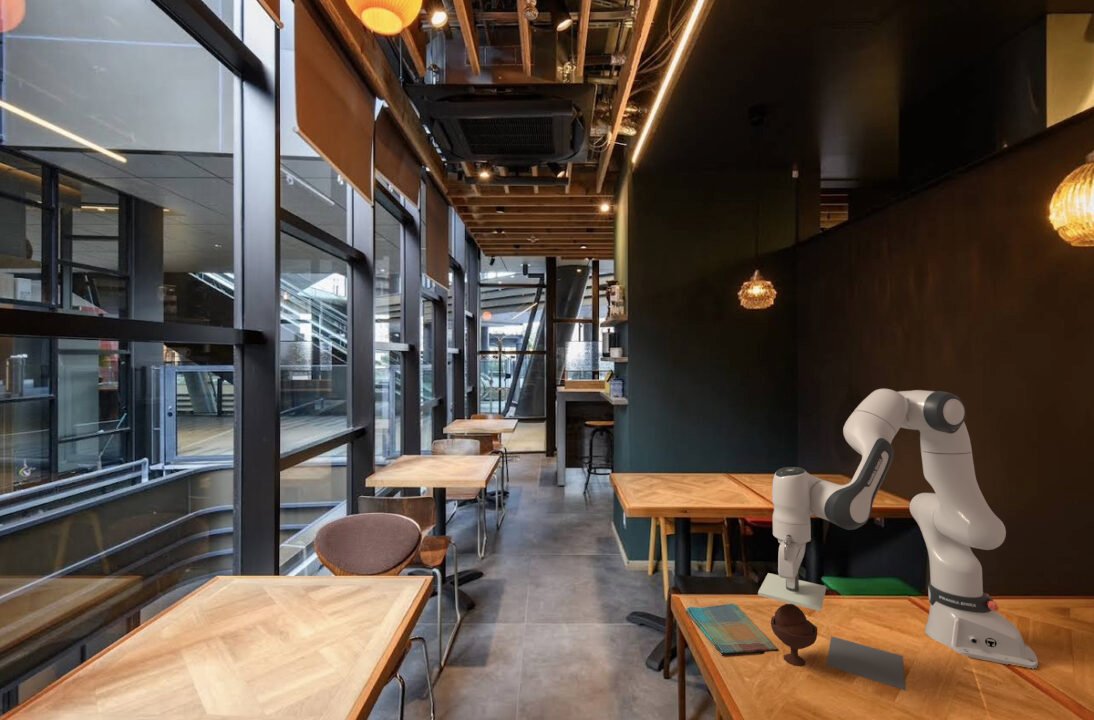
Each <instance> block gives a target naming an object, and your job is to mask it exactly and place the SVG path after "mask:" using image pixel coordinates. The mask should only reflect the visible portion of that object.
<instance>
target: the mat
mask: <svg viewBox="0 0 1094 720" xmlns="http://www.w3.org/2000/svg"><path fill="white" fill-rule="evenodd" d="M828 649H829V650H828V655H827V661H826V667H830V668H833V669H835V670H839V671H841V672H845V673H848V674H851V675H854V676H855V675H856V676H857V677H858V676H859V677H861V678H864V679H866V680H871V681H874V682H878V683H880V684H884V685H888V686H891V687H894V688H897V689H900V690H903V691H906V690H907V687H906V679H905V678H906V677H905V667H904V657H903V655H901V654H897V653H894V652H891V651H886V650H883V649H879V648H876V647H872V646H868V645H864V644H861V643H858V642H854V641H850V640H847V639H843V638H839V637H835V636H831V637H830V643H829V648H828Z"/></svg>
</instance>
